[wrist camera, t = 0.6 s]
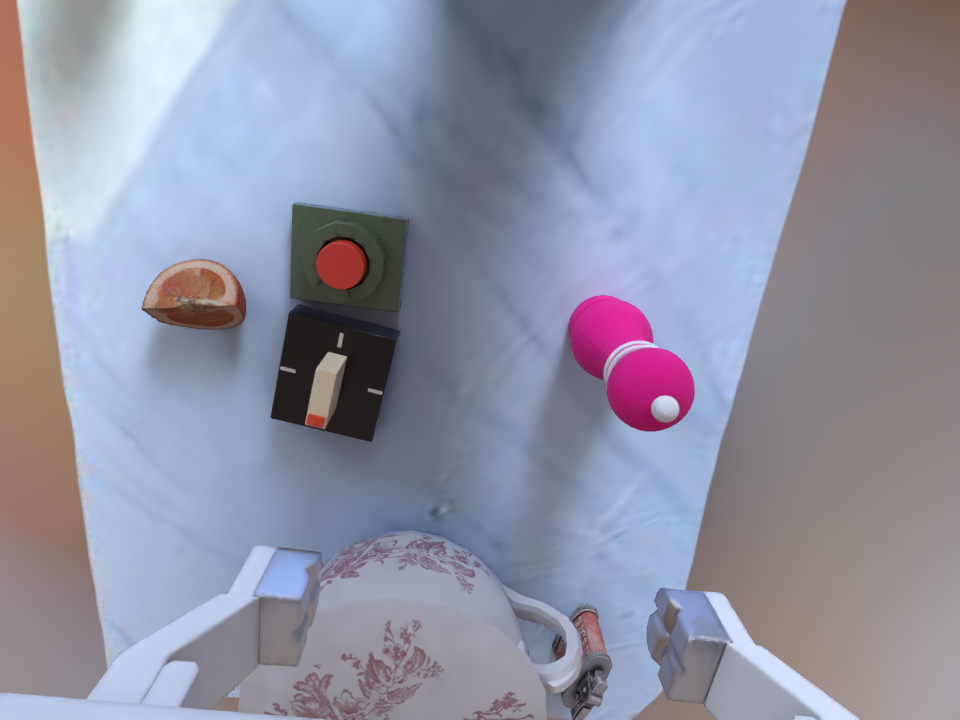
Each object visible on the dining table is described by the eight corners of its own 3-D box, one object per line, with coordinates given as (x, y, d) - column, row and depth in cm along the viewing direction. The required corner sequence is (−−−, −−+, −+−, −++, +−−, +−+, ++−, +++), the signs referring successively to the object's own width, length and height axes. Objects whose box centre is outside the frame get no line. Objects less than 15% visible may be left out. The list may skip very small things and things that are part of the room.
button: (320, 282, 49) (315, 286, 48) (322, 236, 48) (317, 239, 46) (365, 288, 50) (361, 292, 48) (368, 243, 48) (365, 246, 47)
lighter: (579, 600, 66) (597, 673, 57) (603, 610, 67) (625, 684, 57) (546, 647, 69) (558, 725, 59) (570, 656, 69) (586, 734, 60)
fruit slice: (175, 326, 54) (147, 343, 49) (160, 256, 51) (129, 266, 47) (262, 324, 54) (243, 340, 49) (251, 254, 52) (229, 263, 47)
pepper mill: (582, 372, 56) (640, 480, 37) (551, 312, 54) (595, 394, 35) (648, 339, 55) (741, 434, 36) (619, 276, 53) (702, 342, 34)
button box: (295, 294, 53) (283, 303, 50) (297, 202, 50) (286, 205, 47) (400, 307, 54) (396, 317, 50) (409, 217, 51) (405, 222, 47)
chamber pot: (259, 630, 67) (174, 825, 47) (344, 447, 59) (283, 591, 39) (470, 702, 71) (471, 905, 52) (575, 541, 63) (623, 711, 44)
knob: (328, 351, 52) (315, 369, 47) (347, 356, 52) (336, 375, 47) (317, 403, 53) (303, 425, 49) (336, 408, 54) (324, 430, 49)
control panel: (298, 303, 53) (288, 312, 50) (400, 330, 54) (396, 340, 51) (280, 405, 57) (269, 418, 54) (376, 428, 58) (371, 443, 55)
